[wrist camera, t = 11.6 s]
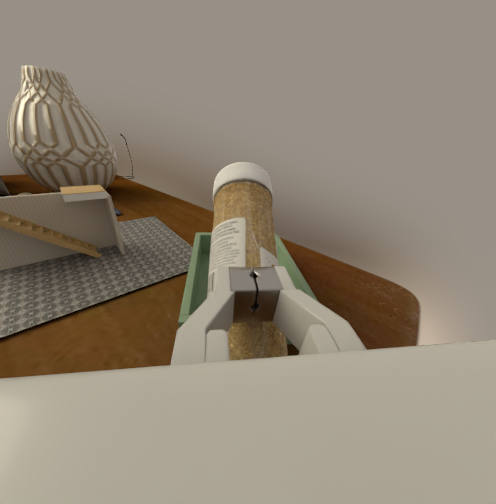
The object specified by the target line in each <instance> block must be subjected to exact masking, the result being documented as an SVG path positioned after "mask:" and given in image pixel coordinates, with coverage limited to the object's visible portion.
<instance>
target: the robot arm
mask: <svg viewBox="0 0 496 504" xmlns="http://www.w3.org/2000/svg"><path fill="white" fill-rule="evenodd" d="M252 317H253V320H254V322H268V321H273V323H274V324H275V325H276V326H277V327H278V328H279V330H280V331H281V332H282V333H283V334H284V335H285V336H286V337H287V338H288V339H289V340H290V342H291V343H292V344H293V345H294V346H295V347H296V348H297V349H298V350H299V351H300V352H299V355H295V356H282V357H269V358H256V359H244V360H231V361H230V360H229V346H228V332H229V330H230V328H231V326H232V323H244V322H252ZM0 504H496V340H485V341H472V342H460V343H447V344H434V345H421V346H408V347H396V348H383V349H370V350H367V349H366V348H365V346H364V345H363V343H362V342H361V340H360V339H359V337H358V336H357V334H356V333H355V331H354V330H353V328H352V327H351V325H350V324H349V322H348V321H346V320H345V319H343V318H342V317H340V316H339V315H337V314H336V313H334V312H333V311H331V310H330V309H328V308H327V307H325V306H324V305H322V304H320V303H319V302H317V301H316V300H314V299H313V298H311V297H310V296H308V295H307V294H305V293H304V292H302V291H301V290H299V289H296V288H295V286H294V284H293V282H292V280H291V278H290V276H289V274H288V272H287V270H286V268H285V267H284V266H273V267H252V268H251V267H230V266H229V267H228V266H217V282H216V291H214V292H212V294H211V295H210V296H209V297H208V298H207V299H206V300H205V301H204V302H203V303H202V304H201V305H200V306H199V308H198V309H197V310H196V311H195V312H194V313H193V314H192V315H191V316H190V317H189V318H188V319H187V321H186V322H185V323H184V324H183V325H182V326H181V327H180V328H179V329H178V330H177V334H176V339H175V344H174V349H173V354H172V359H171V365H167V366H155V367H142V368H129V369H117V370H104V371H91V372H79V373H66V374H53V375H41V376H28V377H15V378H3V379H0Z"/></svg>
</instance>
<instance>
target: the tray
mask: <svg viewBox="0 0 496 504" xmlns="http://www.w3.org/2000/svg"><path fill="white" fill-rule="evenodd" d="M211 235H212V233H196V235H195V240H194V245H193V250H192V255H191V260H190V265H189V270H188V276H187V281H186V286H185V291H184V296H183V301H182V306H181V311H180V316H179V321H178V325H179V328H180V327H181V326H182V325H183V324H184V323H185V322H186V321H187V319H188V318H189V317H190V316H191V315H192V314H193V313H194V312H195V311H196V310H197V309H198V308H199V306H200V305H201V304H202V303H203V302H204V301H205V300H206V299H207V292H208V276H209V262H210V248H211ZM274 235H275V241H276V244H277V254H278V263H279V266H284V267H285V268H286V270H287V272H288V274H289V276H290V278H291V280H292V282H293V284H294V286H295V288H296V289H299V290H301V291H302V292H304V293H305V294H307V295H308V296H310V297H311V298H313V299H314V300H316V301H317V302H318V300H317V299H316V297H315V295H314V294H313V292H312V290H311V289H310V287H309V285H308V284H307V282H306V281H305V279H304V277H303V276H302V274H301V272H300V271H299V269H298V267H297V266H296V264H295V263H294V261H293V259H292V258H291V256H290V254H289V253H288V251H287V249H286V248H285V246H284V244H283V243H282V241H281V240H280V238H279V236H278V235H277V234H274ZM286 342H287V344H292V343H291V342H290V340H289V339H288V338H287V337H286Z"/></svg>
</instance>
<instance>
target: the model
mask: <svg viewBox="0 0 496 504" xmlns="http://www.w3.org/2000/svg"><path fill="white" fill-rule="evenodd" d="M59 188H60V190H61V192H59V193H46V194H32V195H19V196H6V197H0V271H1V270H6V269H9V268H10V269H11V268H13V267H18V266H23V265H27V264H32V263H36V262H41V261H45V260H46V261H47V260H51V259H55V258H59V257H63V256H64V257H65V256H69V255H73V254H78V253H81V254H84V255H87V256H90V257H93V258H98V257H102V256H103V255H102V253H101V252H98V250H97V249H100V248H105V247H108V246H109V247H110V246H113V245H116V247H117V248H118V250H119V252H120V253H121V254H122V255H124V254H125V253H126V250H125V246H124V242H123V238H122V234H121V230H120V226H119V222H117V218H116V214H115V210H114V206H113V202H112V198H111V196H110V195H109V194H108V193H107V192H106V191H105V190H104V189H103V188H102V187H101V186H100V185H87V186H71V187H59Z"/></svg>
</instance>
